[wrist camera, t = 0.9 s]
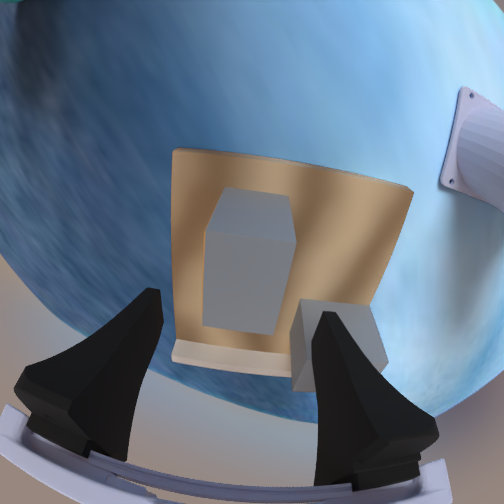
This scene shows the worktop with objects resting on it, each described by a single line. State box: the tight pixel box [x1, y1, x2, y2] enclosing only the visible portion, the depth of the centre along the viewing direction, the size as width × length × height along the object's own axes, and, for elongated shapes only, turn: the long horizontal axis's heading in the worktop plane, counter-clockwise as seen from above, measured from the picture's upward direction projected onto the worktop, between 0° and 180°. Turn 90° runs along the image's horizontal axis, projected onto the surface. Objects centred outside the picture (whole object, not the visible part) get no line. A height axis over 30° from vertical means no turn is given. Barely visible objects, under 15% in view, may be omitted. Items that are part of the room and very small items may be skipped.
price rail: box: [171, 339, 291, 377], centre depth 25 cm, size 16×1×2 cm, turn 83°
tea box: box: [201, 187, 297, 335], centre depth 16 cm, size 6×4×6 cm
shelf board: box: [171, 147, 414, 354], centre depth 22 cm, size 16×18×1 cm
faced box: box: [289, 298, 389, 392], centre depth 20 cm, size 6×4×6 cm
